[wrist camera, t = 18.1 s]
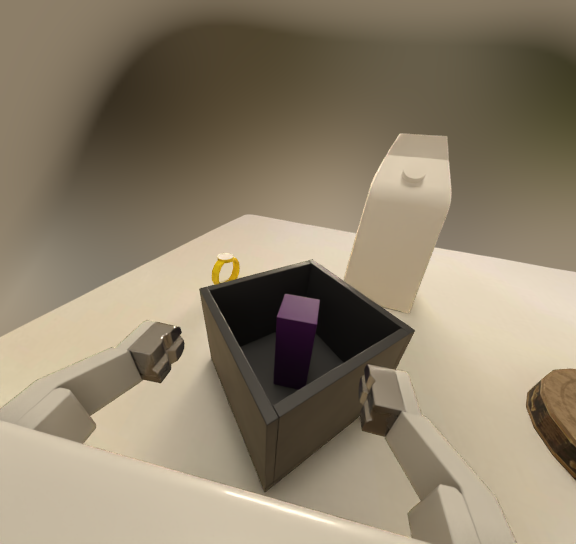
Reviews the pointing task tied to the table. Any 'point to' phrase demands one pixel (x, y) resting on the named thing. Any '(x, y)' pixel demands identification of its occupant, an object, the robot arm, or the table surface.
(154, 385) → the table surface
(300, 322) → the purple rectangular block
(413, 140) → the milk
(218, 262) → the watch
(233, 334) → the waste bin
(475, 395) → the table surface
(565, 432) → the wood slice coaster
